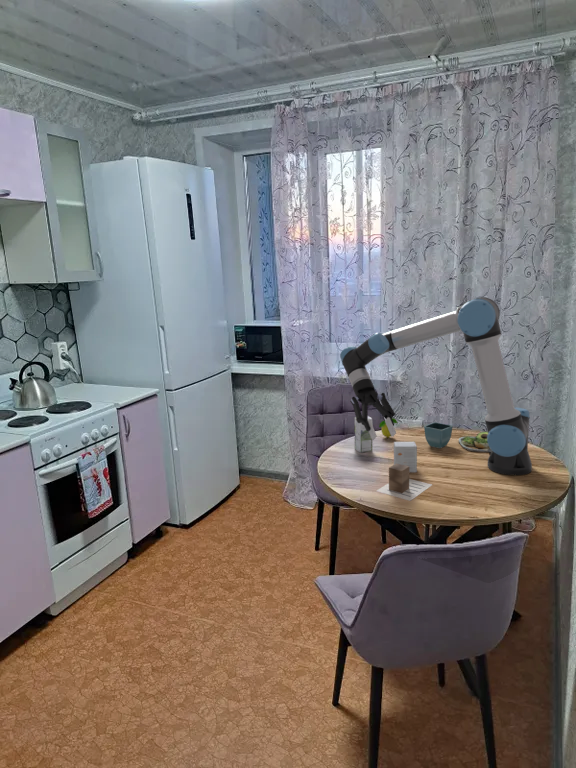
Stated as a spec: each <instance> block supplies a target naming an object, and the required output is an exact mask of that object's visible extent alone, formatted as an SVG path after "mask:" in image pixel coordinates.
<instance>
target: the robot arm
mask: <svg viewBox="0 0 576 768" xmlns="http://www.w3.org/2000/svg"><path fill="white" fill-rule="evenodd" d="M500 313H501V312H500V307H499V305H498V303H496V302H495V301H494V300H493V299H491V298H489V297H478V298H477V297H476V298H474V299H472V300H468V301H467V302H465V303H464V304H463V305H460V306H457V308H456V309H455V310H454V311H451V312H447V313H445V314H441V315H438V316H435V317H432V318H429V319H425V320H422V321H419V322H415V323H413V324H409V325H406V326H404V327H400V328H397V329H394V330H391V331H387V332H382V333H381V332H375V334H373V335H371V336H369V338H367V339H366V340H364V342H362V343H361V344H360V345H359V346H358V347H356V346H355V345H354V346H352V345H351V346H348V347H346V348H344V349H342V350H341V352H340V354H339V357H340V361H341V365H342V366H343V368H344V370H345V372H346V373H345V374H346V375H347V377H348V380H349V382H350V384H351V385H350V386H351V387H352V389H353V393H354V394H355V396H352V398H351V399H350V404H351V405H352V407H353V408H352V409H353V411H354V415H355V417H356V419H357V422H358V423H362V425H364V426H365V429H366V431H369V433H370V436H371V438H372V441H374V440H375V439H376V438H377V433H376V431H375V429H374V426H372V423H371V421H370V420H368V416H369V414H368V413H369V412H368V406H373V408H375V409H376V410H377V411H378V412H379V413H380V414H381V416H383V418H384V419H385V420H384V421H385V423H386V425H387V427H388V430H389V432H390V434H391V436H390V437H391V438H392V437H394V436H395V435H396V434H397V431H396V429H395V427H394V426H395V423H394V422H393V420H392V418H394V416H395V415H396V413H395V411H394V409H393V408H392V406H391V404H390V403H389V401H388V399H387V398H386V397H387V396H386V394H385V392H382V393H378V392H377V391H376V389H375V386H374V384H373V381H372V380H371V377H370V375H369V372H368V370H367V368H366V366H367V365H368V364H370V363H372V361H374V360H375V359H377V358H378V357H380V356H381V355H384V354H386V353H390V352H393V351H396V350H399V349H403V348H406V347H409V346H413V345H416V344H419V343H424V342H426V341H431V340H433V339H437V338H440V337H444V336H447V335H451V334H454V333H458V332H461V331H462V332H463V333H462V334H463V337H464V341H465V344H467V345H469V346H470V347H471V350H472V353H473V358H474V362H475V367H476V370H477V375H478V378H479V383H480V386H481V390H482V395H483V398H484V402H485V406H486V411H487V414H486V416H485V417H484V422H485V426H486V432H488V436H487V442H488V445H489V447H490V449H491V450H492V451H491V452H489V456H488V458H487V468H488V469H489V470H491V471H493V472H495V473H498V474H500V475H501V474H502V475H506V476H525V475H528V474H530V473H531V472H532V470H533V463H532V460H531V457H530V453H529V451H528V447H529V445H528V444H529V429H530V419H531V417H530V411H529V410H528V409H526V408H522V407H515V404H514V400H513V396H512V392H511V389H510V384H509V380H508V376H507V371H506V369H505V363H504V359H503V355H502V351H501V346H500V343H499V339H500V338H501V336H502V331H501V327H500V322H499V319H500V316H501V314H500ZM359 402H360V403H361V407H360V404H359ZM367 420H368V421H367Z"/></svg>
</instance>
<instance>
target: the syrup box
mask: <svg viewBox="0 0 576 768" xmlns="http://www.w3.org/2000/svg"><path fill="white" fill-rule="evenodd" d="M368 420H370V421H371V423H372V426H373V424H374V423H373V418H372V417H370V416H369V415H368ZM368 420H367V421H368ZM373 427H374V426H373ZM354 450H356V451H357V452H359V453H361V454H362V453H367V452H372V451H373V440H372V438H371V436H370V433H369V431H366V429H365V426H364V425H362V423H358V422H357V419H356V416H354Z"/></svg>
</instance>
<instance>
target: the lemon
mask: <svg viewBox="0 0 576 768" xmlns="http://www.w3.org/2000/svg"><path fill="white" fill-rule="evenodd" d="M392 420H393V422H394V424H397V423H398V421H397V419H396V418H394V417H393V418H392ZM378 425H379V426H378V428H381V434H382V435H383V436H384V437H386V438H387V439H389V438H390V437H392V436H391V434H390V432H389V430H388V427H387V425H386V423H385V420H382V421H381V422H380V423H379V424H378Z"/></svg>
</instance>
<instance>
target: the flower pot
mask: <svg viewBox="0 0 576 768" xmlns="http://www.w3.org/2000/svg"><path fill="white" fill-rule="evenodd" d="M453 427H454V426H453V425H451V424H445V423H441V422H431V423H430V424H429V423H428V424H427V425H424V426H423V429H424V436H425V440H426V442H427V444H428V445H429V446H430V447H433V448H437V449H442V448H445V447H446V446H447V445H448V444H449V442H450V440H451V438H452V433H453Z"/></svg>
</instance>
